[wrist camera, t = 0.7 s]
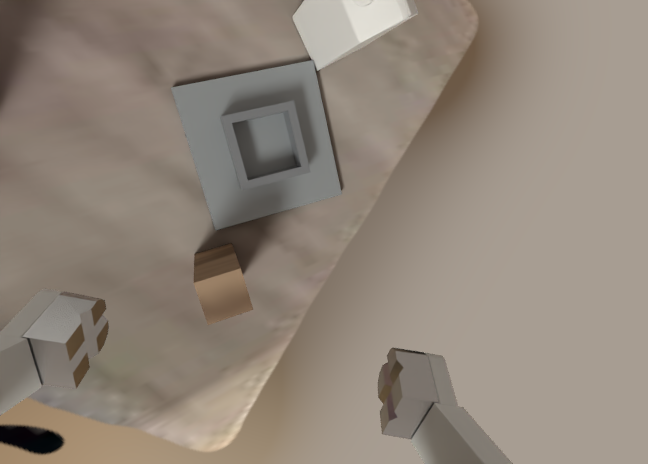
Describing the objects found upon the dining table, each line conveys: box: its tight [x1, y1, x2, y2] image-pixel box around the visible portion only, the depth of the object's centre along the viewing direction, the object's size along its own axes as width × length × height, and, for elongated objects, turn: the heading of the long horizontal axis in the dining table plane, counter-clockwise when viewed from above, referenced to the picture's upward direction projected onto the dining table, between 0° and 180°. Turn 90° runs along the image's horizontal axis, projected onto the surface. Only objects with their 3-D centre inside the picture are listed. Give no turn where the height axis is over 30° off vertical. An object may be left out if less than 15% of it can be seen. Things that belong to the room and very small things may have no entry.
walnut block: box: [194, 243, 253, 325], centre depth 48 cm, size 5×5×12 cm
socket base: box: [171, 60, 342, 230], centre depth 50 cm, size 18×18×4 cm
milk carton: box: [293, 0, 418, 71], centre depth 42 cm, size 7×7×19 cm
